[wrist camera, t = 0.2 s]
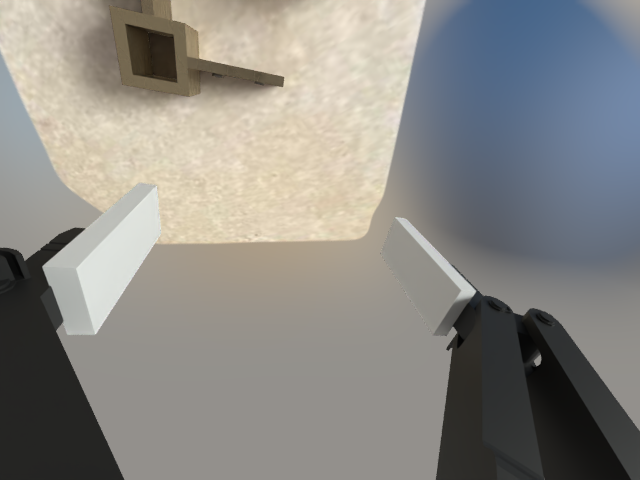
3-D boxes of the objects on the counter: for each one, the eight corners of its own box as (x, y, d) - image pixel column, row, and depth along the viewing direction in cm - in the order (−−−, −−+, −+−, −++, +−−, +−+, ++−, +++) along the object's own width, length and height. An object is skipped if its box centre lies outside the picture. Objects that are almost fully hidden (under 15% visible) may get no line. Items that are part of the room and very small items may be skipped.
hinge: (121, -89, 25) (86, -129, 20) (291, -35, 29) (296, -58, 24) (144, 83, 32) (122, 84, 27) (278, 107, 36) (280, 112, 31)
